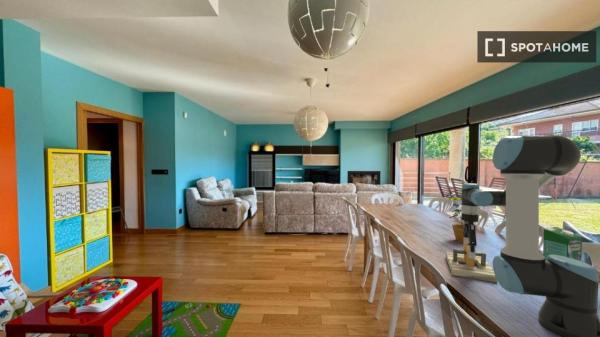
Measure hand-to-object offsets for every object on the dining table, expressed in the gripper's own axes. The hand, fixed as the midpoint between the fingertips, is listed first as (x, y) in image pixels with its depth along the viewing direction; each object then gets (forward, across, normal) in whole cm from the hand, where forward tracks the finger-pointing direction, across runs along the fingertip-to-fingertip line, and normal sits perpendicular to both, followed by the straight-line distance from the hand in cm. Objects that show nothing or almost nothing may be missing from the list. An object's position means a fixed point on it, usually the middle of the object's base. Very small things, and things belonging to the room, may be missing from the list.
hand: (469, 253), depth 131 cm
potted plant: (+8, +52, -5) cm, 53 cm away
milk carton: (+8, -2, -35) cm, 36 cm away
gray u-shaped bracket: (+8, 0, 0) cm, 8 cm away
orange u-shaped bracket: (+5, 0, 0) cm, 5 cm away
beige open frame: (+8, 0, 0) cm, 8 cm away
